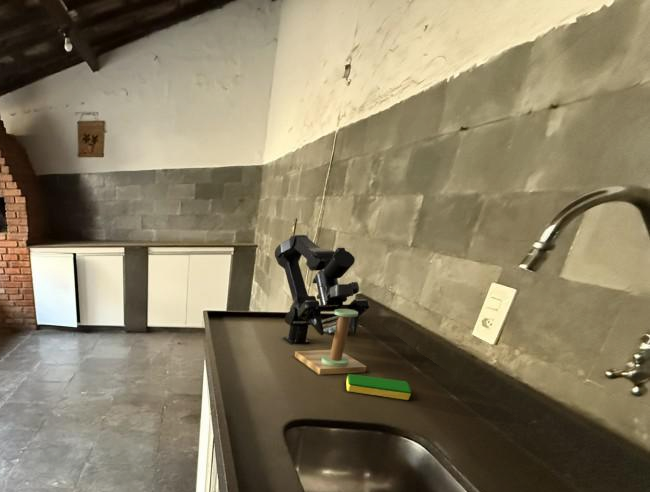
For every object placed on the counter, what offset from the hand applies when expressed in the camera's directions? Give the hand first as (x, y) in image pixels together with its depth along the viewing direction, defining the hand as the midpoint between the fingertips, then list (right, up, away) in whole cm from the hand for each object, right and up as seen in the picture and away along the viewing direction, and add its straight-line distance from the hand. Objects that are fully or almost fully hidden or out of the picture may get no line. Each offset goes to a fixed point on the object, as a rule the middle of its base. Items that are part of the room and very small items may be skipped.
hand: (338, 334), depth 120 cm
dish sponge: (+4, -17, -11) cm, 20 cm away
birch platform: (0, -8, +6) cm, 10 cm away
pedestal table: (0, -8, +2) cm, 8 cm away
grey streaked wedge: (+17, +6, +35) cm, 39 cm away
